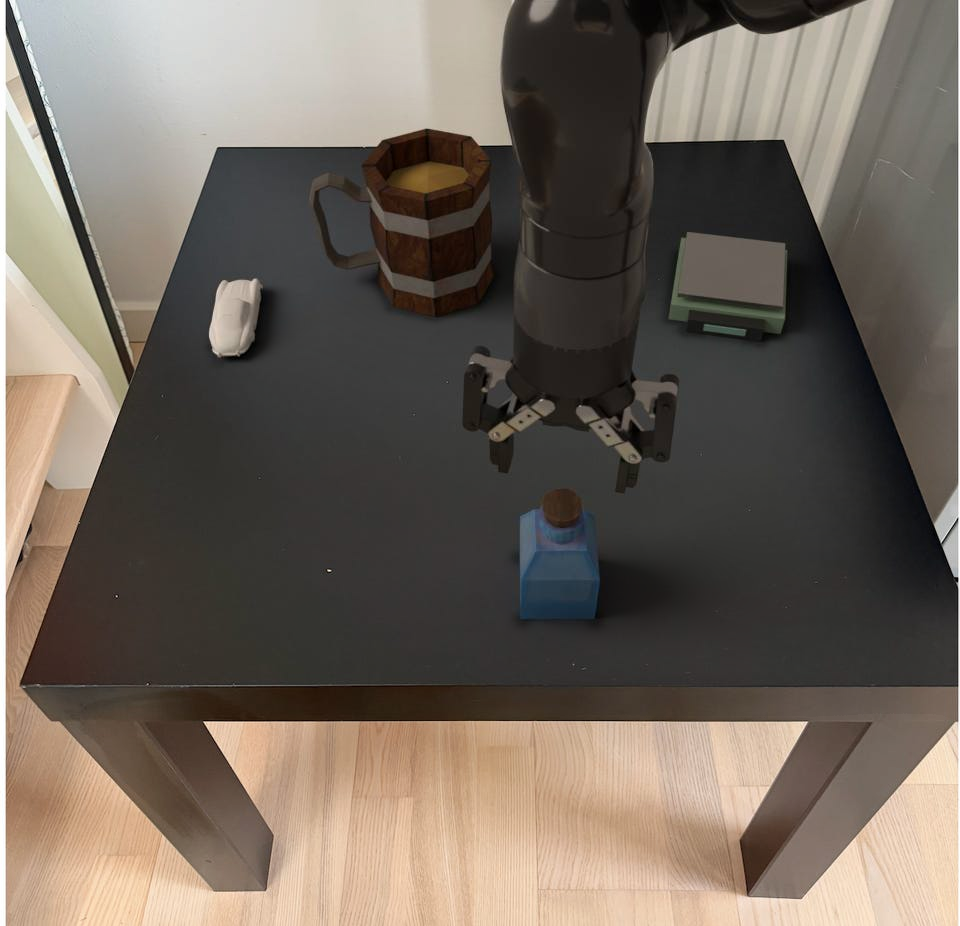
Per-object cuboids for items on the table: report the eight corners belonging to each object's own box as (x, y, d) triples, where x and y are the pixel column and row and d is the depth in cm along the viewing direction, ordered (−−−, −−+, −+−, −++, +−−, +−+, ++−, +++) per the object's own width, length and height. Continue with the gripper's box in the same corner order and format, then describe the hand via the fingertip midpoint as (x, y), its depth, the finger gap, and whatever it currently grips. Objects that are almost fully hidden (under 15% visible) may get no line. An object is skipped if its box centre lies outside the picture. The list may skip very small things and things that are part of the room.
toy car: (264, 288, 105) (258, 264, 102) (253, 361, 97) (246, 337, 95) (223, 291, 105) (215, 267, 102) (208, 363, 97) (200, 339, 95)
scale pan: (783, 251, 103) (785, 243, 102) (780, 314, 96) (783, 306, 96) (685, 240, 105) (687, 231, 104) (676, 301, 98) (677, 292, 97)
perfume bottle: (594, 619, 76) (605, 537, 67) (520, 619, 77) (522, 538, 67) (589, 557, 80) (599, 472, 71) (519, 557, 80) (520, 473, 71)
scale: (783, 265, 105) (787, 249, 103) (780, 345, 97) (784, 330, 95) (678, 252, 107) (681, 237, 105) (666, 330, 99) (669, 314, 97)
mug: (491, 240, 110) (489, 125, 98) (496, 314, 101) (494, 198, 90) (329, 246, 110) (308, 133, 98) (320, 321, 101) (295, 206, 90)
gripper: (444, 328, 52) (456, 497, 65) (693, 363, 50) (655, 532, 63) (474, 249, 57) (480, 421, 70) (703, 278, 55) (666, 451, 67)
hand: (563, 473), depth 66 cm, fingers open, 8 cm apart
